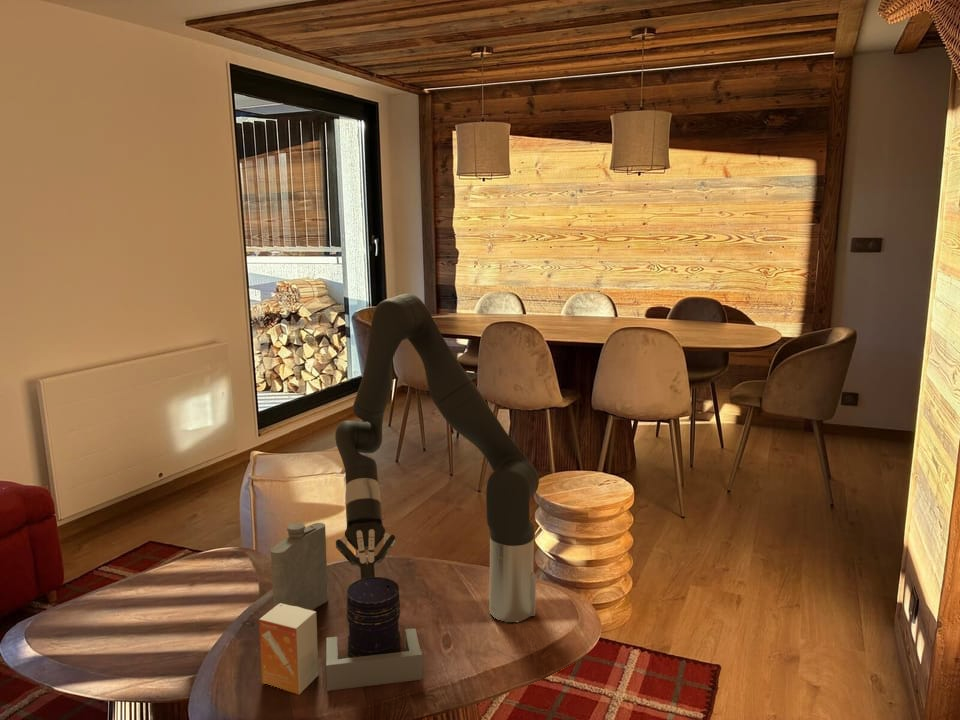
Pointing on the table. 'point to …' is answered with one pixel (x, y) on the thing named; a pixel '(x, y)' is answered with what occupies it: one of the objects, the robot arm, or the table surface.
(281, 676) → the small box
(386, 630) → the black ribbed barrel
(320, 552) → the hip flask
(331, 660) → the grey u-shaped frame
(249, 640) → the table surface
